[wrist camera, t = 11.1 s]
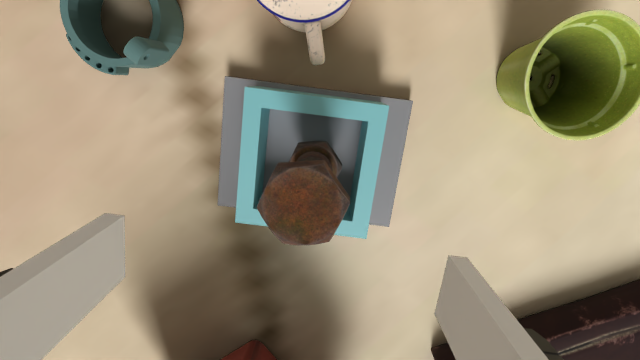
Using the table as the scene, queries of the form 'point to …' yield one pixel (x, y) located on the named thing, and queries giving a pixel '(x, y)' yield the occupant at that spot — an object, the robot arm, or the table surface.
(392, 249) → the table surface
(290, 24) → the teacup with lid
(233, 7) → the table surface
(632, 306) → the diary
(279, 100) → the socket
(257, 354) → the plant pot
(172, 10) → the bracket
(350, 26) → the table surface
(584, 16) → the plant pot
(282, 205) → the bolt
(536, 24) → the table surface
